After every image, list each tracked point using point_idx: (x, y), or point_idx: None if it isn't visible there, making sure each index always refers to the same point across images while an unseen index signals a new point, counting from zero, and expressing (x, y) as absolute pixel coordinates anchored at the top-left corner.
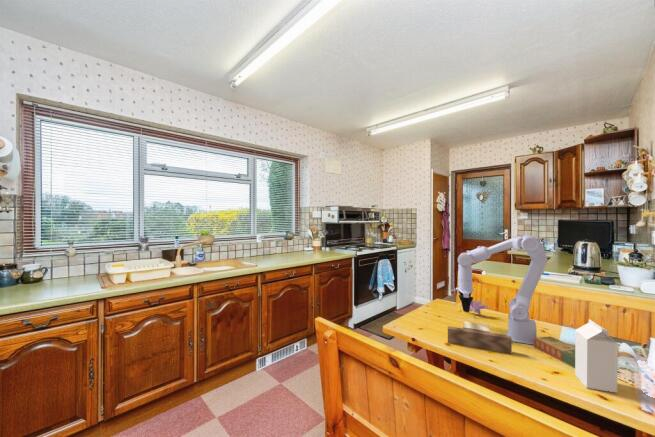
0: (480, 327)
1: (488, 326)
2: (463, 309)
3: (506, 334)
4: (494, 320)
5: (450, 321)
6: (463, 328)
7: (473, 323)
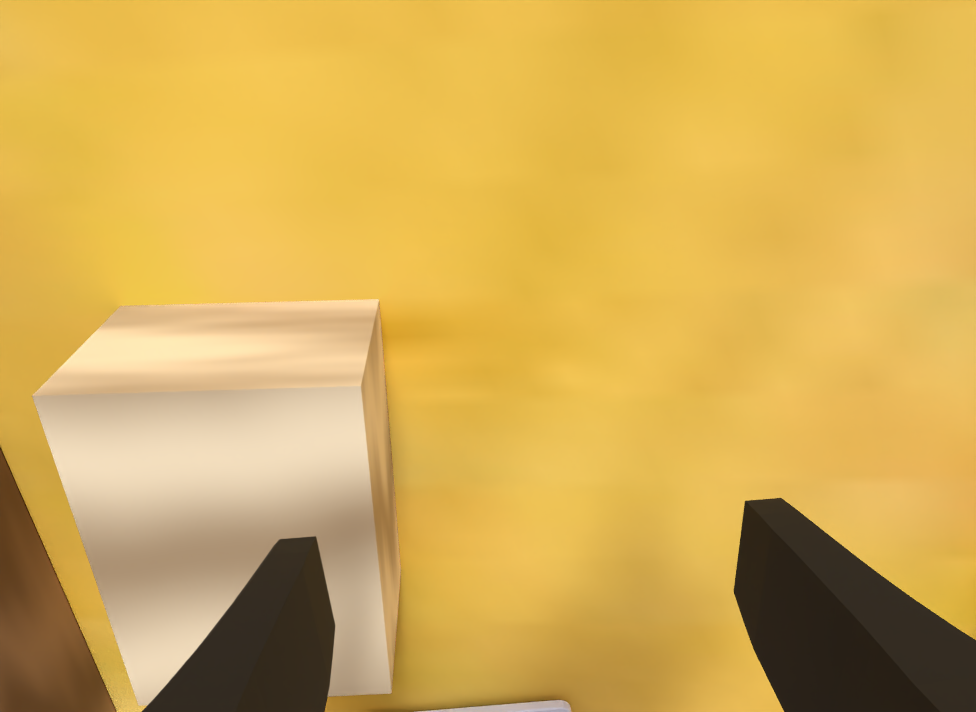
0: (220, 612)
1: (335, 687)
2: (254, 580)
3: (511, 710)
4: (962, 616)
5: (767, 69)
6: (47, 389)
7: (343, 528)
